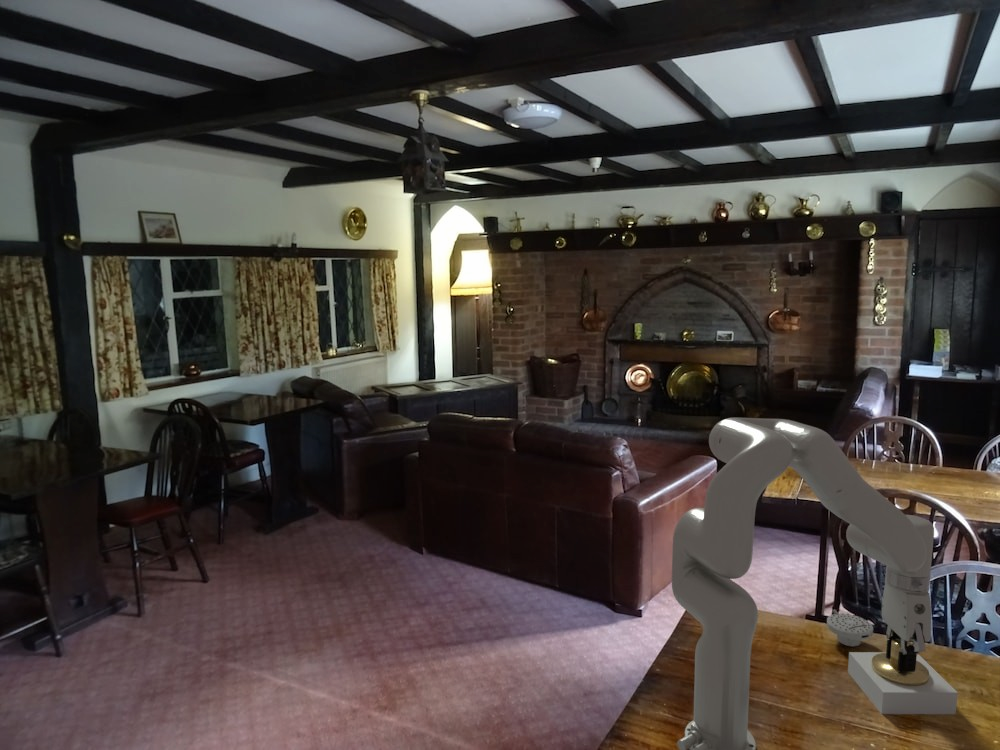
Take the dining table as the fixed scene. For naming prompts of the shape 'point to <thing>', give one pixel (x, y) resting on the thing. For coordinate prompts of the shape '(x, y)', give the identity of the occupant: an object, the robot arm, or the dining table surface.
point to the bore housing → (902, 689)
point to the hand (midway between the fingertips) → (900, 663)
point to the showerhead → (849, 628)
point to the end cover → (890, 667)
